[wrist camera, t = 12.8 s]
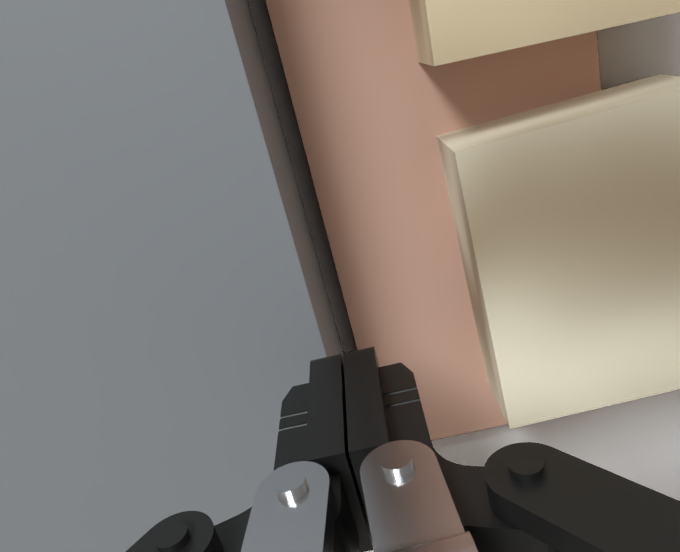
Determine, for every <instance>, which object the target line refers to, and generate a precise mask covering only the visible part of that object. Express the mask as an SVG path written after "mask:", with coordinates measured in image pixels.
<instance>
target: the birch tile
mask: <svg viewBox="0 0 680 552" xmlns="http://www.w3.org/2000/svg"><path fill="white" fill-rule="evenodd" d="M436 138H437V143H438V147H439V152H440V157H441V162H442V167H443V171H444V176H445V181H446V186H447V190H448V195H449V200H450V205H451V210H452V214H453V219H454V224H455V229H456V233H457V238H458V243H459V248H460V252H461V257H462V262H463V267H464V272H465V276H466V281H467V286H468V291H469V295H470V300H471V305H472V310H473V314H474V319H475V324H476V329H477V334H478V338H479V343H480V348H481V353H482V357H483V362H484V367H485V372H486V376H487V381H488V383H489V386H490V388H491V390H492V392H493V394H494V396H495V398H496V400H497V403H498V405H499V407H500V409H501V411H502V413H503V415H504V417H505V420H506V422H507V424H508V426H509V428H510V429H513V428H517V427H522V426H526V425H530V424H534V423H539V422H543V421H547V420H551V419H556V418H560V417H564V416H568V415H573V414H577V413H581V412H585V411H590V410H594V409H598V408H602V407H607V406H611V405H615V404H619V403H624V402H628V401H632V400H636V399H641V398H645V397H649V396H653V395H658V394H662V393H666V392H670V391H675V390H679V389H680V76H674V75H664V74H658V75H654V76H651V77H647V78H643V79H640V80H636V81H633V82H629V83H625V84H622V85H618V86H615V87H611V88H608V89H604V90H600V91H597V92H593V93H590V94H586V95H582V96H579V97H575V98H572V99H568V100H564V101H561V102H557V103H554V104H550V105H546V106H543V107H539V108H536V109H532V110H528V111H525V112H521V113H518V114H514V115H510V116H507V117H503V118H500V119H496V120H492V121H489V122H485V123H482V124H478V125H474V126H471V127H467V128H464V129H460V130H456V131H453V132H449V133H446V134H442V135H438V136H436Z"/></svg>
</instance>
